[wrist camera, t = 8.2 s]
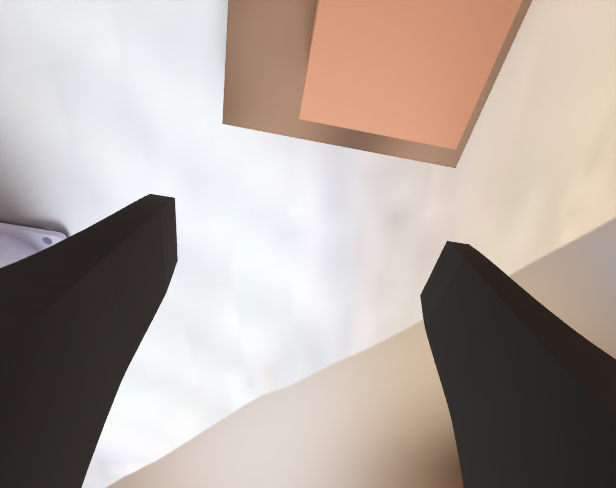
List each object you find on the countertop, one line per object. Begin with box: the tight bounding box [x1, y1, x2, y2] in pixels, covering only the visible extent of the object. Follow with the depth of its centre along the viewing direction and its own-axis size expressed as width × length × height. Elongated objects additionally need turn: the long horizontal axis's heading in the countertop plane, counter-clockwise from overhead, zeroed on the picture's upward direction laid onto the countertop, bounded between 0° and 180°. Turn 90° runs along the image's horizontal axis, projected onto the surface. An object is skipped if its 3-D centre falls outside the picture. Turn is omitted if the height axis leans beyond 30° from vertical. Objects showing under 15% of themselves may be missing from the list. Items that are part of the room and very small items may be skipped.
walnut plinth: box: [223, 0, 532, 168], centre depth 14 cm, size 10×10×2 cm
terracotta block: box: [299, 0, 522, 150], centre depth 10 cm, size 4×4×6 cm
